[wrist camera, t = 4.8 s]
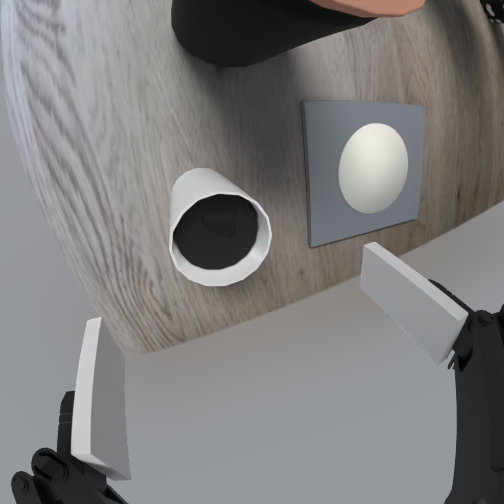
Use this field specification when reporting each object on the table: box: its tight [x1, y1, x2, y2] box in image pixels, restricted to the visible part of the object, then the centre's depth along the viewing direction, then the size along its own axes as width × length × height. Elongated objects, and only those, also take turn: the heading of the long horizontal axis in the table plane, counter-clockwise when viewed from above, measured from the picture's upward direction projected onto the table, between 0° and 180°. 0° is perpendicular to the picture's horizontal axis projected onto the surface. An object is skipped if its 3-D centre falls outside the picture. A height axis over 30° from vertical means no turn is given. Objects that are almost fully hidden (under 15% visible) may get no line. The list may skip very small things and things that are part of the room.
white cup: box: [169, 168, 272, 286], centre depth 22 cm, size 7×7×10 cm
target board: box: [301, 101, 425, 247], centre depth 30 cm, size 16×18×1 cm
